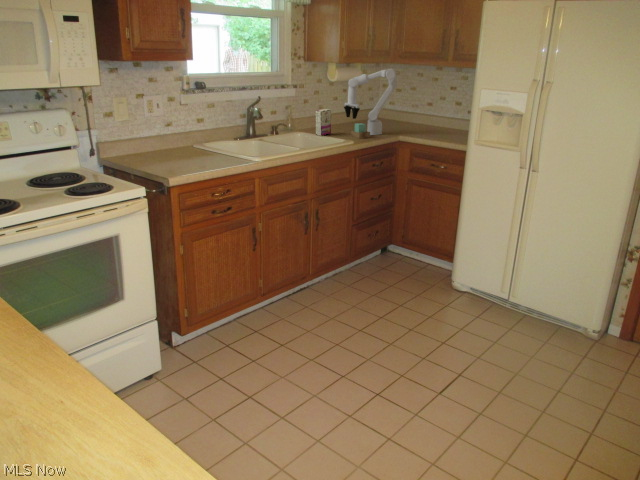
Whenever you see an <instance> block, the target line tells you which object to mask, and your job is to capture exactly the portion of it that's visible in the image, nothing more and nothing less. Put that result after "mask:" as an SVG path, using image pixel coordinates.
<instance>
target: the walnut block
mask: <svg viewBox="0 0 640 480" xmlns="http://www.w3.org/2000/svg"><path fill="white" fill-rule="evenodd" d="M350 138H352V139H353V138H354V139H358V140H359V139H369V138H371V135H370V132H368V131H367V130H365V132H355V130H351V131H350Z"/></svg>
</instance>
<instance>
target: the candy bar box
mask: <svg viewBox="0 0 640 480" xmlns="http://www.w3.org/2000/svg"><path fill="white" fill-rule="evenodd" d="M316 134H317V135H325V136H327V135H326V134H329V135H331V134H332V109H331V108H324V109H318V110H315V135H316Z"/></svg>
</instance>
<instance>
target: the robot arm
mask: <svg viewBox="0 0 640 480" xmlns="http://www.w3.org/2000/svg"><path fill="white" fill-rule="evenodd" d="M380 77H382V78H386V79H387V80H388V81H387V82H388V87H387V88H386V90H384V92H383V94H381V95H382V96H381V97H380V99H379V100H378V102H377V103H376V104H375V106H374V107H373V108H372V109H371V110H370V111H369V112H368V115H367V117H368V119H367V125H366V126H367V127H366V128H367V129H366V131H368V132H370V136H377V135H383V133H382V132H383V123H382V121H381V120H379V119H378V117H379V114H380V112H381V110H382V109H383V107H384V106H385V105H386V103H387V102H388V100H389V98H390V97H391V95H392V94H393V92H394V91H395V89H396V88H397V84H398V75H397V72H396V69H394V68H391V67H390V68H389V69H381V70H378V71H377V72H373V73H370V74H366V73H365V74H364V73H362V74H361V75H358V76H354V77H352V78H350V79H349V80H348V82H347V83H348V89H347V102H344V106H343V109H344V111H345V116H346V118H351V114H352V119H355V120H356V119H357V116H358V113H359V111H360V109H361V108H360V105H359V104H357V99H358V98H357V95H358V89H357V88H358V86H362V85H364V84H368V83H369V81H370V80H373V79H377V78H380ZM351 112H352V113H351Z"/></svg>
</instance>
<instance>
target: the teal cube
mask: <svg viewBox="0 0 640 480" xmlns="http://www.w3.org/2000/svg"><path fill="white" fill-rule="evenodd" d="M354 131H355V132H365V131H366V123H361V122H360V123H354Z"/></svg>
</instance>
